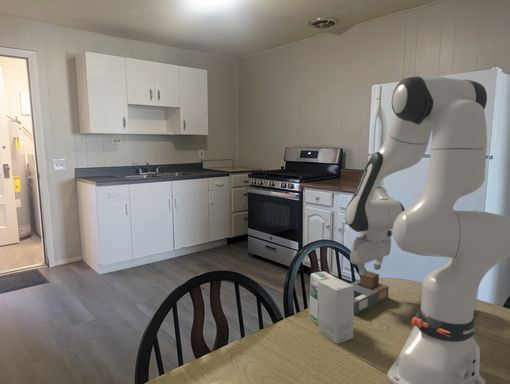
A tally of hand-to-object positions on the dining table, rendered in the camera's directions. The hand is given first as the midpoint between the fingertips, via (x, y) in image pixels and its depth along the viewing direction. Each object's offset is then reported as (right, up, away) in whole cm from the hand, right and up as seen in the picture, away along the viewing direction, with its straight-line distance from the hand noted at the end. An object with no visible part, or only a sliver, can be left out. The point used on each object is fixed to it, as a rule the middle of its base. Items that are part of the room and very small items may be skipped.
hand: (370, 271), depth 124 cm
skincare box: (-17, -13, -23) cm, 32 cm away
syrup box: (-20, -12, -14) cm, 27 cm away
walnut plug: (0, -9, +2) cm, 9 cm away
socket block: (-4, -10, -2) cm, 11 cm away
